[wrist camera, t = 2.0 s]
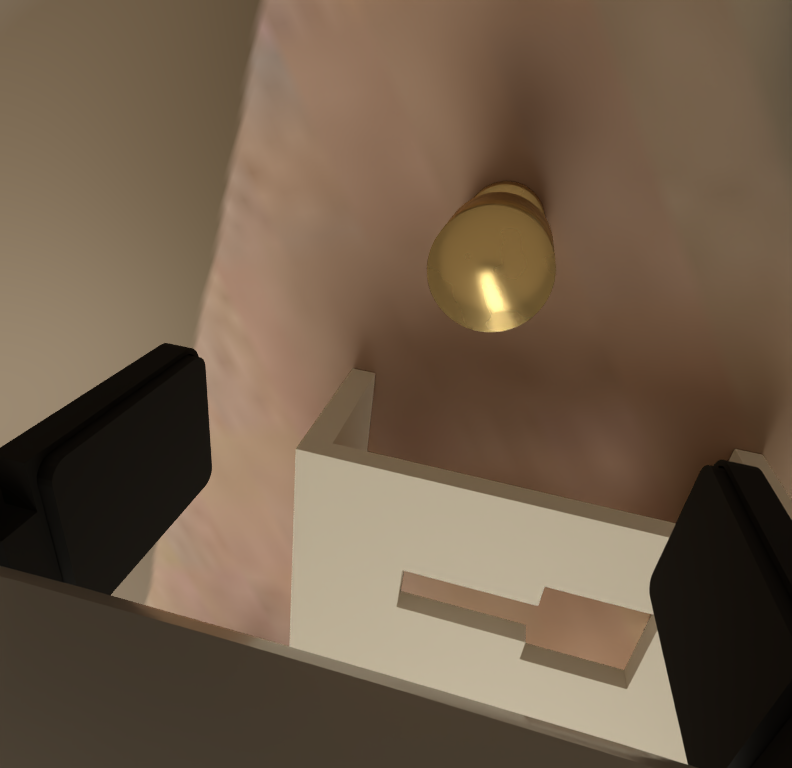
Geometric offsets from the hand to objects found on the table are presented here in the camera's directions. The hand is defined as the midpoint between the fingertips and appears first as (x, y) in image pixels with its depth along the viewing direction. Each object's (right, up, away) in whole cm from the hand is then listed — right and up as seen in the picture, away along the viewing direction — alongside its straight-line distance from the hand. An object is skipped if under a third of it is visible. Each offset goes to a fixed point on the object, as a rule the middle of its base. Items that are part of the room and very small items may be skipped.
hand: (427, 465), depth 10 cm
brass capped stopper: (+5, +11, +20) cm, 24 cm away
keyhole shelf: (+8, -7, +29) cm, 31 cm away
